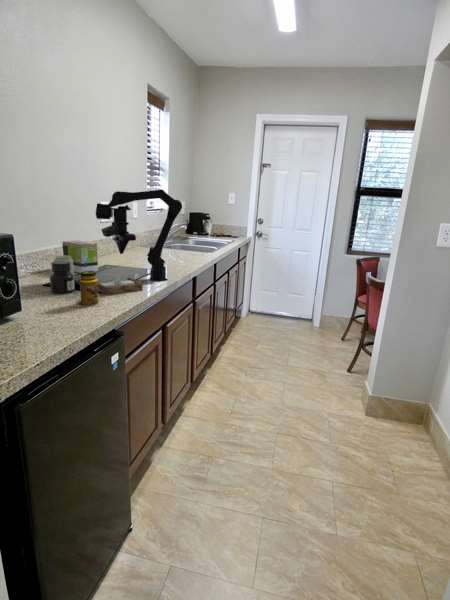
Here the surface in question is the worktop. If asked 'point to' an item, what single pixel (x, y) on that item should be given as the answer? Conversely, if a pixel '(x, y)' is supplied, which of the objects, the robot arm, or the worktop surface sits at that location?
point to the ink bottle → (61, 278)
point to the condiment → (88, 290)
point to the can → (66, 258)
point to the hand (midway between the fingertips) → (121, 253)
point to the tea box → (82, 255)
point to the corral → (120, 288)
